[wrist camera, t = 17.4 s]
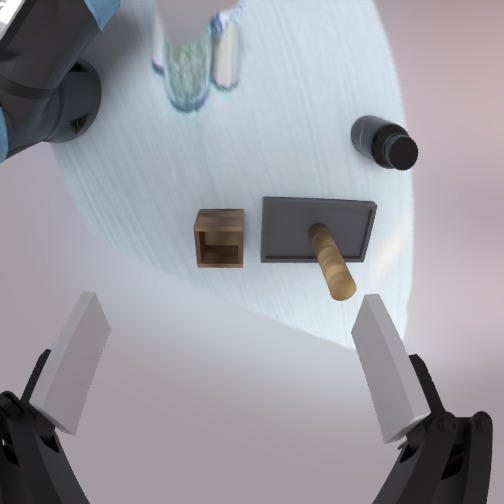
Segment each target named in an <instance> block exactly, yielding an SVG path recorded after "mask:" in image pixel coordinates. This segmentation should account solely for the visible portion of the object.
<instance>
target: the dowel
mask: <svg viewBox="0 0 504 504" xmlns="http://www.w3.org/2000/svg"><path fill="white" fill-rule="evenodd" d="M308 236H309V238H310V241H311V243H312V246H313V248H314V251H315V254H316V256H317V259H318V261H319V264H320V267H321V269H322V272H323V275H324V277H325V280H326V283H327V285H328V288H329V291H330V294H331V296H332V298H333V299H335V300H338V301H343V300H346V299H348V298H350V297H351V296H352V295H353V294H354V293H355V291H356V284H355V282H354V280H353V278H352V276H351V274H350V272H349V270H348V268H347V266H346V264H345V262H344V260H343V258H342V256H341V254H340V252H339V250H338V248H337V246H336V244H335V242H334V240H333V238H332V237H331V235H330V233H329V231H328V229H327V227H326V226H325V225H324V224H322V223H315V224H313V225H312V226H311V227H310V228H309V230H308Z"/></svg>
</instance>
